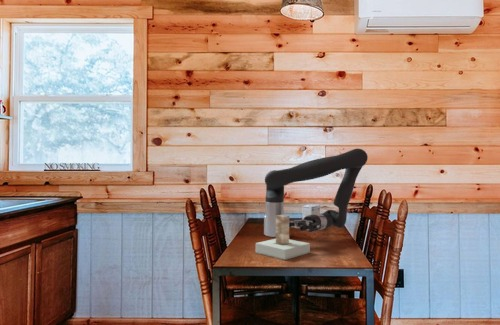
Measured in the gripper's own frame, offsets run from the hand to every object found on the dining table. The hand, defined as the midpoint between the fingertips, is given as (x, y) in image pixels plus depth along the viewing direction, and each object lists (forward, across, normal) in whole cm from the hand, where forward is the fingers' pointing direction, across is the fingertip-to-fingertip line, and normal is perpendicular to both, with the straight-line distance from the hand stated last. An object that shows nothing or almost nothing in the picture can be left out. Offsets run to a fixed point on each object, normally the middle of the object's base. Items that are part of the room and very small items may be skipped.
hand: (292, 227), depth 161 cm
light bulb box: (-62, -36, +10) cm, 73 cm away
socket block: (+7, 0, +10) cm, 12 cm away
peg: (+7, 0, +9) cm, 12 cm away
